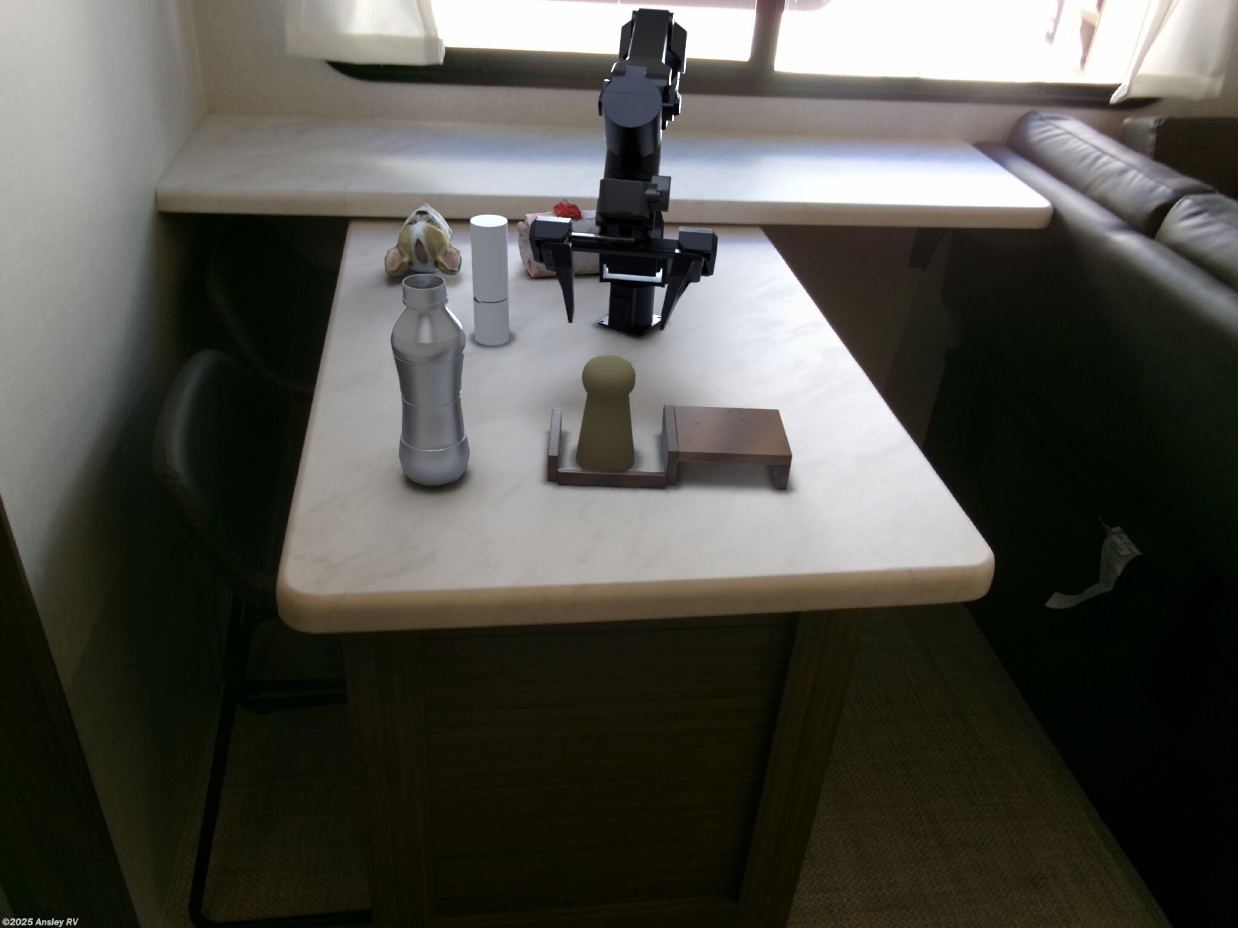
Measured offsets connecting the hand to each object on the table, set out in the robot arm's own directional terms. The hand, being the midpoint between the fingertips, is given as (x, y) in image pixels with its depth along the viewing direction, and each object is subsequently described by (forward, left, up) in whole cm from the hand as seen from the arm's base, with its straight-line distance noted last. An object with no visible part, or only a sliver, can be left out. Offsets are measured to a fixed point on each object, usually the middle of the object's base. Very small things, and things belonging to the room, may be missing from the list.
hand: (615, 325), depth 95 cm
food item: (-36, -29, -12) cm, 48 cm away
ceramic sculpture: (-24, -45, -12) cm, 52 cm away
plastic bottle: (+17, -10, -12) cm, 23 cm away
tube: (-11, -24, -12) cm, 29 cm away
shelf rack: (+2, +8, -12) cm, 15 cm away
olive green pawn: (+5, +2, -12) cm, 14 cm away
